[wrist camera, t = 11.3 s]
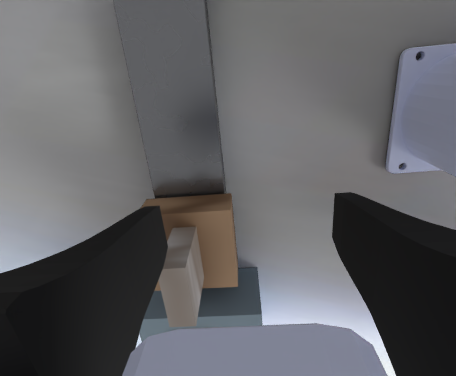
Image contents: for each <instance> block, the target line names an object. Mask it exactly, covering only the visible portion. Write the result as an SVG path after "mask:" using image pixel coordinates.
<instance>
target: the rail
mask: <svg viewBox="0 0 456 376" xmlns="http://www.w3.org/2000/svg"><path fill="white" fill-rule="evenodd" d="M113 2H114V7H115V12H116V17H117V21H118V26H119V31H120V35H121V40H122V45H123V50H124V54H125V59H126V64H127V68H128V73H129V78H130V82H131V87H132V92H133V97H134V101H135V106H136V111H137V115H138V120H139V125H140V130H141V134H142V139H143V144H144V148H145V153H146V158H147V163H148V167H149V172H150V177H151V181H152V186H153V191H154V196H155V199H157V198H171V197H186V196H200V195H214V194H226V187H225V177H224V167H223V158H222V148H221V138H220V129H219V119H218V109H217V99H216V90H215V80H214V70H213V61H212V51H211V41H210V31H209V22H208V12H207V2H206V0H113Z"/></svg>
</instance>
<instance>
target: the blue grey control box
mask: <svg viewBox="0 0 456 376" xmlns="http://www.w3.org/2000/svg"><path fill="white" fill-rule="evenodd" d="M238 326H262V312H261V302H260V292H259V281H258V271H257V267H256V268H238V287H222V288H202V293H201V299H200V305H199V312H198V318H197V324H196V326H187V327H169V323H168V318H167V314H166V310H165V306H164V301H163V297H162V293H161V290H160V291H154V293H153V295H152V298H151V300H150V303H149V305H148V308H147V310H146V313H145V316H144V319H143V322H142V325H141V329H140V332H139V333H140V337H141V340H142V342H143V341H144V340H145V339H146V338H147V337H149V336H152V335H156V334H160V333H164V332H168V331H172V330H176V329H186V328H212V327H238Z"/></svg>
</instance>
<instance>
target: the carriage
mask: <svg viewBox="0 0 456 376" xmlns="http://www.w3.org/2000/svg"><path fill="white" fill-rule="evenodd" d="M159 205H160V210H161V215H162V220H163V225H164V229H165V234H166V239H167V244H168V249H167V254H166V259H165V263H164V267H163V270H162V272H161V275H160V277H159V280H158V283H157V285H156V288H155V290H154V291H160V290H161V293H162V297H163V301H164V306H165V310H166V314H167V318H168V323H169V327H187V326H196V324H197V318H198V312H199V305H200V299H201V293H202V288H222V287H238V258H237V248H236V237H235V227H234V216H233V206H232V195H231V193H228V194H214V195H200V196H186V197H171V198H157V199H147V200H146V201H145V202H144V204H143V205H142V207H141V208H143V207H145V206H159ZM141 208H140V209H141Z"/></svg>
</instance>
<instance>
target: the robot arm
mask: <svg viewBox="0 0 456 376" xmlns="http://www.w3.org/2000/svg"><path fill="white" fill-rule="evenodd" d="M418 52H420V53H421V57H420V59H419V60H416V54H417V53H418ZM401 163H404V165H403V167H401V168H399V165H400V164H401ZM386 170H387V171H388V172H390V173H408V172H422V171H436V170H443V171H445V172H447V173H449V174H451V175H453V176H455V177H456V43H453V44H443V45H433V46H423V47H413V48H408V49H405V50H404V51H403V52H402V54H401V56H400V60H399V68H398V76H397V83H396V91H395V98H394V106H393V113H392V121H391V128H390V136H389V143H388V151H387V158H386ZM332 238H333V241H334V243H335V246H336V249H337V251H338V254H339V256H340V258H341V260H342V262H343V264H344V266H345V268H346V269H347V271H348V273H349V275H350V277H351V278H352V280H353V282H354V284H355V285H356V287H357V289H358V291H359V293H360V294H361V296H362V298H363V300H364V301H365V303H366V305H367V307H368V309H369V311H370V313H371V315H372V317H373V320H374V322H375V324H376V327H377V329H378V331H379V334H380V336H381V338H382V341H383V343H384V346H385V348H386V351H387V353H388V356H389V358H390V361H391V363H392V366H393V368H394V371H395V374H396V376H456V230H453V229H450V228H446V227H443V226H440V225H436V224H433V223H429V222H426V221H423V220H420V219H418V218H415V217H412V216H409V215H407V214H404V213H401V212H399V211H396V210H394V209H391V208H389V207H387V206H384V205H382V204H380V203H377V202H375V201H372V200H370V199H368V198H365V197H363V196H360V195H358V194H355V193H351V192H349V193H335V199H334V215H333V232H332ZM167 249H168V244H167V239H166V234H165V229H164V225H163V220H162V215H161V210H160V205H159V206H145V207H143V208H141V209H139V210H137V211H135V212H133V213H132V214H130V215H128V216H127V217H125V218H124V219H122V220H120V221H119V222H117V223H115V224H114V225H112V226H110V227H109V228H107V229H105V230H103V231H102V232H100V233H98V234H96V235H95V236H93V237H91V238H89V239H87V240H85V241H83V242H81V243H79V244H77V245H75V246H73V247H71V248H69V249H67V250H64V251H62V252H60V253H57V254H55V255H52V256H50V257H47V258H44V259H42V260H39V261H37V262H34V263H31V264H29V265H26V266H23V267H20V268H17V269H13V270H10V271H7V272H4V273H0V376H387V374H386V372H385V370H384V368H383V366H382V364H381V361H380V359H379V357H378V355H377V353H376V351H375V349H374V347H373V345H372V344H370V343H369V342H368V341H366V340H365V339H363V338H362V337H361V336H359V335H358V334H357V333H355V332H354V331H352V330H351V329H347V328H342V327H336V326H329V325H323V324H316V323H315V324H289V325H263V326H238V327H212V328H186V329H176V330H172V331H168V332H164V333H160V334H156V335H152V336H149V337H147V338H146V339H145V340H144V341H143V342H142V343H141V344H140V345H139V346H138V347H137V348H136V349H135V347H136V344H137V340H138V336H139V332H140V329H141V325H142V322H143V319H144V316H145V313H146V310H147V308H148V305H149V303H150V300H151V298H152V295H153V293H154V290H155V288H156V285H157V283H158V280H159V277H160V275H161V272H162V270H163V267H164V263H165V259H166V254H167Z"/></svg>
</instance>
